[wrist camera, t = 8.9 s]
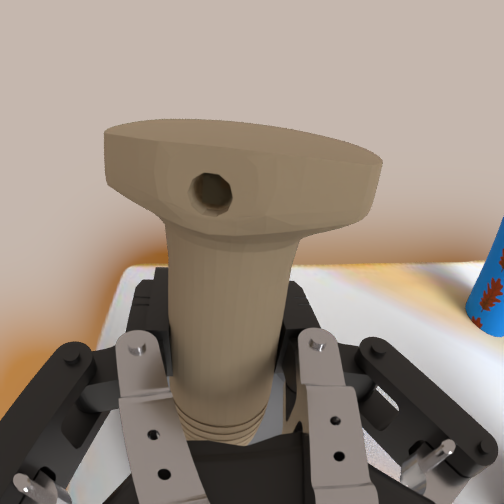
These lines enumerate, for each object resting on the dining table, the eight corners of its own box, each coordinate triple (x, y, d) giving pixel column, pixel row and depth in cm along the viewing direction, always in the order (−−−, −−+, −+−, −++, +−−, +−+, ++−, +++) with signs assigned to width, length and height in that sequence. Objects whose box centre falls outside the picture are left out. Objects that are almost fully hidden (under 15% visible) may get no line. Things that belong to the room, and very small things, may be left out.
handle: (173, 395, 16) (161, 116, 9) (280, 418, 16) (360, 142, 8) (146, 461, 12) (62, 139, 5) (269, 491, 12) (412, 183, 4)
